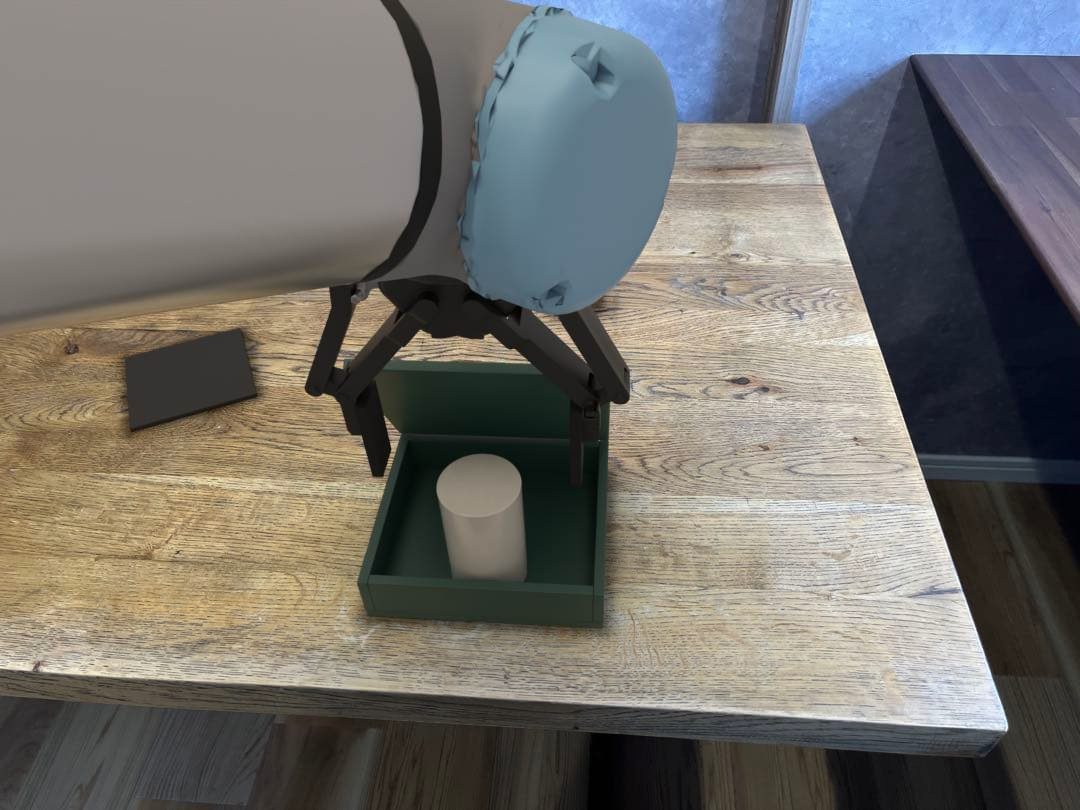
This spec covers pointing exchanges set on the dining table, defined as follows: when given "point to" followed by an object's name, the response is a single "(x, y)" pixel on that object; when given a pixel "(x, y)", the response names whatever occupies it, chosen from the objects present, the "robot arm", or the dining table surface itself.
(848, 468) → the dining table surface
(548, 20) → the robot arm
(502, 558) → the beige cylinder
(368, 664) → the dining table surface
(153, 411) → the mat
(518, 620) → the box
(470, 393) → the lid
